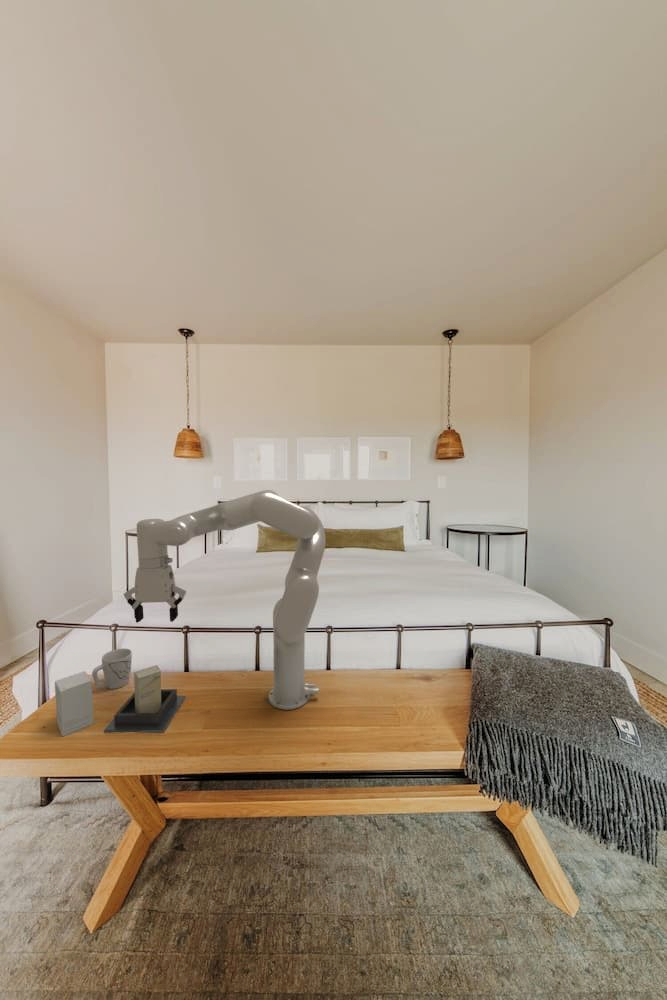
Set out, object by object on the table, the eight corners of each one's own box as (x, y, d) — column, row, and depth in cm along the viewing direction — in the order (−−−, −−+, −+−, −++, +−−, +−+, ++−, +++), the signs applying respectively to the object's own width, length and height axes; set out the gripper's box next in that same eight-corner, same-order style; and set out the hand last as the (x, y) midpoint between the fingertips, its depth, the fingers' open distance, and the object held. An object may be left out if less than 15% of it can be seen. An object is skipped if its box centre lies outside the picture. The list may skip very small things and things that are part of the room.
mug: (99, 699, 113) (97, 668, 112) (88, 689, 118) (86, 659, 117) (137, 682, 122) (136, 653, 121) (125, 673, 127) (124, 645, 127)
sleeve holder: (185, 698, 114) (185, 686, 114) (163, 732, 99) (163, 719, 99) (133, 698, 114) (133, 686, 114) (104, 732, 99) (103, 719, 99)
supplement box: (94, 724, 102) (92, 680, 101) (61, 737, 97) (59, 692, 96) (87, 711, 108) (85, 670, 107) (56, 723, 102) (53, 680, 101)
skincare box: (138, 720, 103) (137, 678, 102) (134, 712, 106) (133, 672, 105) (162, 710, 107) (161, 670, 106) (157, 703, 110) (156, 664, 109)
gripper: (188, 558, 109) (191, 614, 111) (129, 559, 109) (133, 615, 110) (178, 565, 102) (181, 625, 103) (115, 566, 101) (119, 626, 103)
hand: (156, 620), depth 107 cm, fingers open, 9 cm apart
